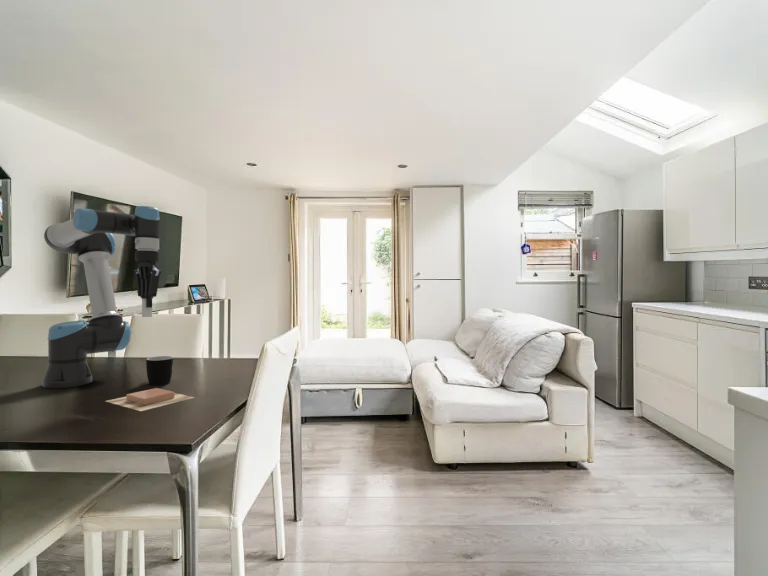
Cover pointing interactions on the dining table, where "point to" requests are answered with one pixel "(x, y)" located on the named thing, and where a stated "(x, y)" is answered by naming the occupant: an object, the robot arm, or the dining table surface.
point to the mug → (159, 370)
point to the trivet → (142, 407)
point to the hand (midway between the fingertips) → (147, 316)
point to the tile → (150, 396)
